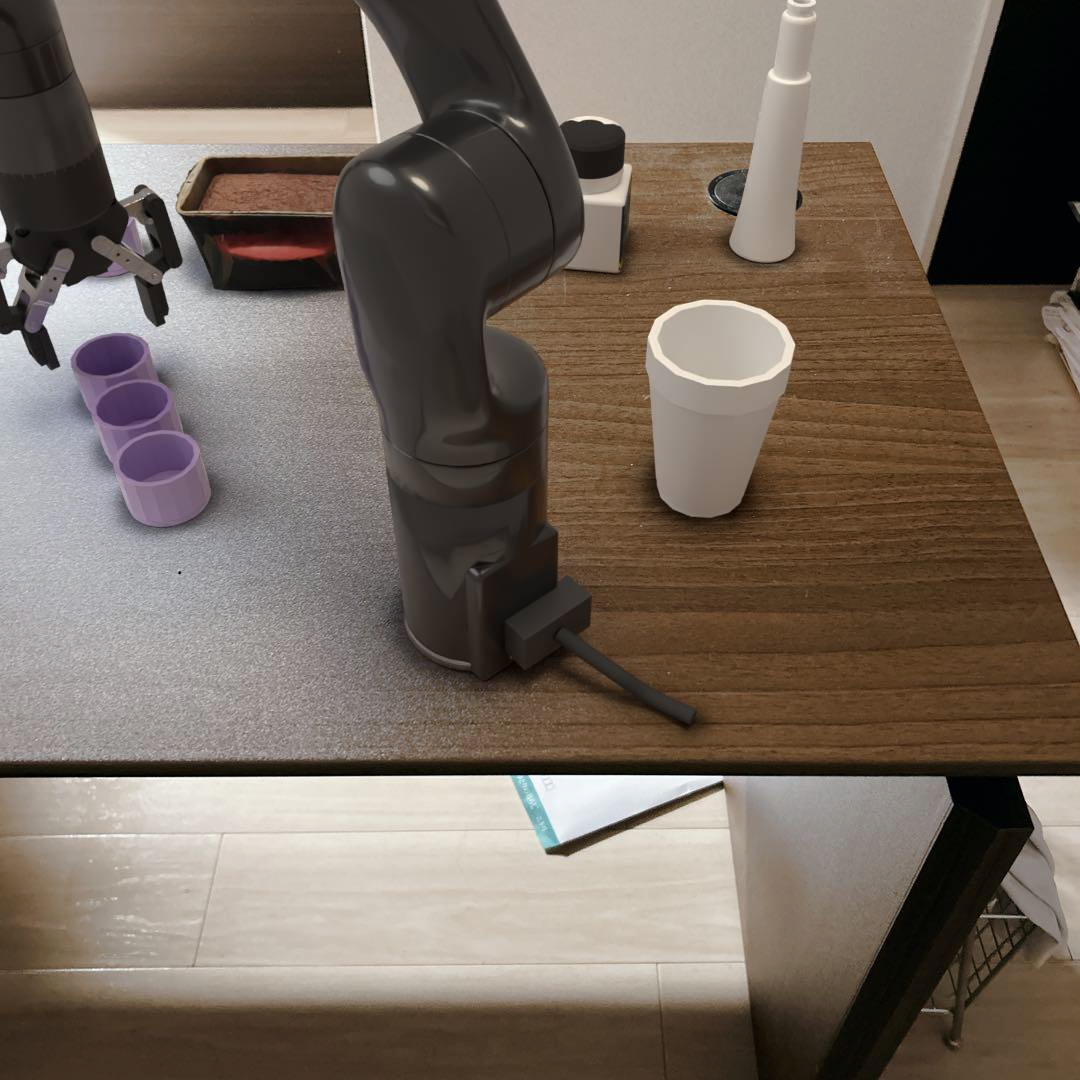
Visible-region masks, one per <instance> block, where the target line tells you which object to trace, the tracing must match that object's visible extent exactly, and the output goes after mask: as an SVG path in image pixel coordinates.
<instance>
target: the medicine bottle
mask: <svg viewBox="0 0 1080 1080" xmlns="http://www.w3.org/2000/svg"><path fill="white" fill-rule="evenodd" d="M559 127H560V129H561V131H562V133H563V136H564V138H565V140H566V143H567V145H568V148H569V150H570V153H571V155H572V158H573V161H574V164H575V167H576V170H577V173H578V177H579V181H580V185H581V189H582V193H583V199H584V210H585V229H584V233H583V238H582V242H581V246H580V248H579V250H578V252H577V254H576V256H575V257H574V258H573V260H572V261H571V262H570V263H569V264H568V265H567V266H566V267H565V268H564V269H563V270H565V269H566V270H575V271H576V270H577V271H585V272H599V273H610V274H619V273H620V272H621V271H622V266H623V261H624V255H625V250H626V245H627V239H628V235H629V226H630V211H631V198H632V196H631V195H632V183H633V182H632V180H633V166H632V164H631V163H625V155H626V154H625V151H626V132H625V130H624V128H623V127H622V126H621V125H620V124H619V123H617V122H616V121H614V120H612V119H610V118H606V117H602V116H597V115H583V116H577V117H572V118H570V119H567V120H565V121H563V122H562V123H561V124H559Z"/></svg>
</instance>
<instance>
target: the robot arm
mask: <svg viewBox="0 0 1080 1080" xmlns="http://www.w3.org/2000/svg"><path fill="white" fill-rule="evenodd" d="M353 2H354V3H355V4H356V5H357V6H358V7H359V8H360V10H361V11H362V12H363V14H364V15H365V16H366V18H367V19H368V20H369V21H370V23H371V24H372V25H373V28H375V30H376V31H377V33H378V35H379V36H380V38H381V40H382V42H383V43H384V44H385V46H386V48H387V50H388V51H389V53H390V55H391V57H392V59H393V60H394V62H395V64H396V66H397V69H398V70H399V72H400V74H401V76H402V79H403V80H404V83H405V85H406V87H407V89H408V91H409V93H410V96H411V98H412V99H413V102H414V104H415V107H416V109H417V111H418V114H419V117H420V120H421V123H419V124H416V125H414V126H412V127H410V128H409V129H406V130H405V131H402V132H400V133H398V134H396V135H393V136H391V137H389V138H387V139H385V140H383V141H382V142H379V143H377V144H375V145H373V146H371V147H368V148H367V149H366V150H364V151H362V152H360V153H358V154H359V155H357V156H356V157H354V158H353V159H351V160H350V161H349V162H348V163H347V164H346V166H345V167H344V168H343V169H342V171H341V173H340V175H339V177H338V180H337V183H336V187H335V191H334V198H333V229H334V239H335V245H336V250H337V256H338V261H339V266H340V271H341V275H342V280H343V284H342V285H343V288H344V293H345V297H346V303H347V307H348V312H349V317H350V322H351V327H352V333H353V338H354V342H355V347H356V353H357V358H358V360H359V364H360V367H361V370H362V374H363V375H364V378H365V381H366V383H367V385H368V387H369V389H370V392H371V394H372V396H373V399H374V400H375V401H374V402H375V403H376V407H377V411H378V419H379V423H380V431H381V439H382V447H383V455H384V464H385V473H386V479H387V487H388V497H389V503H390V511H391V512H390V513H391V518H392V526H393V527H392V528H393V534H394V541H395V550H396V559H397V564H398V565H397V566H398V574H399V581H400V587H401V595H402V602H403V606H402V608H403V610H402V612H403V613H402V614H403V622H404V628H405V632H406V634H407V636H408V638H409V640H410V642H411V643H412V645H413V646H414V647H415V648H416V649H417V651H419V652H420V654H422V655H423V656H424V657H426V658H427V659H429V660H430V661H432V662H434V663H436V664H438V665H440V666H442V667H446V668H449V669H453V670H459V671H466V672H470V673H471V672H472V673H473V674H474V675H476V677H478V678H479V680H481V681H487V680H488V679H490V678H492V677H493V676H494V675H496V674H497V673H499V672H501V671H502V670H504V669H505V668H507V667H508V666H509V665H511V664H513V663H514V662H515V663H516V664H518V666H520V667H521V669H523V670H524V671H527V670H528V669H530V668H531V667H532V666H534V665H535V664H537V663H539V662H540V661H541V660H543V659H544V658H546V657H548V656H549V655H550V654H551V653H552V654H553V652H555V651H556V650H557V649H559V648H561V647H563V648H564V649H566V650H568V651H569V652H571V653H572V654H574V655H575V656H576V657H578V658H579V659H581V660H582V662H585V663H586V664H587V665H589V666H591V667H592V668H593V669H595V670H596V671H597V672H599V673H600V674H601V675H603V676H605V677H606V678H608V679H609V680H611V681H612V682H613V683H615V684H616V685H618V686H619V687H620V688H622V689H623V690H625V691H626V692H627V693H629V694H630V695H632V696H634V698H637V699H638V700H640V701H641V702H643V703H645V704H647V705H649V706H650V707H651V708H654V709H655V710H658V711H660V712H661V713H664V714H665V715H667V716H670V717H672V718H674V719H676V720H679V721H681V722H682V723H685V724H686V725H688V726H691V725H692V724H693V722H694V721H695V719H696V716H697V713H698V710H697V709H696V708H694V707H692V706H690V705H688V704H685V703H683V702H682V701H680V700H677V699H675V698H672V697H671V696H668V695H666V694H665V693H663V692H661V691H659V690H657V689H655V688H654V687H652V686H650V685H648V684H647V683H646V682H644V681H642V680H641V679H639V678H638V677H637V676H635V675H634V674H632V673H631V672H629V670H626V669H625V668H624V667H622V666H621V665H620V664H618V663H617V662H615V661H614V660H613V659H611V658H610V657H608V656H607V655H605V654H603V653H602V652H601V651H599V650H598V649H596V648H595V647H594V646H592V645H591V644H590V643H588V642H587V641H585V640H584V639H582V638H581V637H580V636H578V635H580V634H582V633H583V632H584V631H585V630H587V629H589V628H590V627H591V616H592V601H593V597H592V596H593V595H592V594H590V592H588V591H587V590H586V589H585V588H584V587H583V586H581V584H579V583H578V582H577V581H576V580H574V579H573V578H572V577H571V576H570V575H569V574H567V575H564V576H563V577H562V578H560V579H558V578H559V531H558V529H557V528H555V527H554V526H553V525H552V524H551V523H549V522H548V508H549V507H548V505H549V504H548V502H549V501H548V499H549V498H548V497H549V495H548V494H549V493H548V492H549V491H548V490H549V486H548V485H549V414H550V413H549V411H550V385H549V383H550V382H549V376H548V375H549V374H548V370H547V368H546V365H545V362H544V360H543V359H542V357H541V356H540V355H539V353H538V352H537V351H536V349H535V348H534V347H533V346H531V344H530V343H528V342H526V341H525V340H524V339H522V338H521V337H519V336H517V335H515V334H514V333H511V332H509V331H506V330H504V329H501V328H499V327H495V326H490V325H486V324H487V320H489V319H490V318H492V317H494V316H495V315H496V314H498V313H500V312H502V311H504V309H506V308H507V307H509V306H511V305H512V304H514V303H515V302H517V301H518V300H520V299H521V298H523V297H525V296H526V295H528V294H529V293H531V292H532V291H534V290H535V289H537V288H539V287H540V286H541V285H543V284H544V283H546V282H547V281H549V280H550V279H552V278H554V277H555V276H556V275H557V274H559V273H560V272H561V271H563V270H565V269H564V268H565V267H566V266H567V265H568V264H569V263H570V262H571V261H572V260H573V258H574V257H575V256H576V254H577V252H578V250H579V248H580V246H581V242H582V238H583V233H584V229H585V210H584V199H583V193H582V189H581V185H580V181H579V177H578V173H577V170H576V167H575V164H574V161H573V158H572V155H571V153H570V150H569V148H568V145H567V143H566V140H565V138H564V136H563V133H562V131H561V129H560V127H559V126H560V124H559V122H558V120H557V118H556V116H555V114H554V111H553V109H552V107H551V105H550V103H549V101H548V99H547V97H546V95H545V94H544V91H543V89H542V87H541V85H540V83H539V81H538V79H537V76H536V75H535V73H534V71H533V68H532V67H531V65H530V62H529V60H528V59H527V56H526V54H525V53H524V50H523V48H522V47H521V44H520V42H519V40H518V38H517V36H516V34H515V32H514V30H513V28H512V26H511V24H510V22H509V20H508V17H507V16H506V14H505V12H504V10H503V8H502V6H501V4H500V1H499V0H353ZM61 20H62V19H61V17H60V13H59V9H58V7H57V3H56V0H0V214H1V216H2V220H3V222H4V224H5V231H6V232H5V236H4V237H5V238H4V241H3V242H0V335H3V336H6V335H10V334H12V332H14V331H16V332H17V331H19V332H20V334H21V337H22V339H23V341H24V344H25V347H26V349H27V352H28V354H29V355H30V356H31V357H32V358H33V360H34V361H35V362H36V363H37V364H38V365H39V366H40V367H44V366H46V367H47V368H48V369H49V370H50V371H54V370H56V369H59V368H61V363H60V361H59V357H58V355H57V353H56V350H55V347H54V345H53V342H52V339H51V337H50V334H49V331H48V329H47V327H46V326H45V325H44V321H45V319H46V316H47V314H48V311H49V308H50V307H53V306H54V305H55V303H56V301H57V298H58V295H59V293H60V290H61V287H62V285H65V286H66V287H67V288H70V287H73V286H75V285H78V284H79V283H80V282H82V281H84V280H86V279H87V278H88V277H89V278H90V277H99V276H98V275H101V274H104V273H106V272H108V268H109V267H110V266H111V265H112V263H113V262H115V263H117V264H118V265H120V266H121V267H123V268H125V269H126V270H128V271H129V272H130V273H131V274H133V279H134V283H135V286H136V290H137V294H138V296H139V300H140V303H141V306H142V310H143V312H144V316H145V317H146V318H147V320H148V321H149V322H150V323H151V324H152V325H153V326H155V328H158V327H162V326H163V325H165V324H166V319H165V317H166V316H169V312H170V307H169V303H168V299H167V296H166V291H165V288H164V284H163V278H164V275H165V274H166V273H167V272H168V271H170V270H172V269H173V270H175V269H179V268H180V267H181V266H182V265H183V261H184V258H183V256H182V252H181V250H180V246H179V243H178V240H177V237H176V234H175V232H174V227H173V226H172V225H173V223H172V221H171V219H170V215H169V213H168V209H167V206H166V203H165V201H164V199H163V198H162V197H160V196H159V195H158V194H157V193H156V192H155V191H153V189H151V188H150V187H148V186H147V185H146V184H138V185H136V186H135V188H134V189H133V194H132V195H130V196H128V197H125V198H123V199H120V200H118V198H117V196H116V192H115V189H114V188H115V187H114V185H113V181H112V178H111V175H110V171H109V167H108V164H107V160H106V158H105V153H104V150H103V146H102V143H101V140H100V136H99V133H98V129H97V126H96V122H95V119H94V115H93V111H92V108H91V105H90V102H89V99H88V96H87V94H86V92H85V88H84V87H83V84H82V82H81V81H80V80H81V79H80V77H79V76H78V73H77V70H76V68H75V65H74V62H73V59H72V55H71V52H70V48H69V44H68V41H67V38H66V33H65V31H64V28H63V24H62V21H61ZM129 217H134V218H135V220H136V222H138V223H139V224H140V225H142V226H144V229H145V232H146V234H147V238H148V241H149V243H150V246H151V249H152V250H150V251H149V252H147V254H145V256H143V255H142V254H140V253H138V252H137V251H135V250H134V249H132V248H131V247H129V246H128V245H126V244H125V243H124V242H122V239H123V236H124V233H125V231H126V228H127V225H128V221H129ZM12 260H15V261H16V262H17V263H18V264H20V265H22V267H21V269H20V270H21V271H20V273H19V275H18V279H17V284H18V290H17V292H16V294H15V297H14V300H13V302H12V305H9V303H8V299H7V296H6V293H5V291H4V288H3V284H2V281H1V280H5V279H6V277H7V275H8V265H9V263H10V262H11V261H12Z"/></svg>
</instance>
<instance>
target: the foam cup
mask: <svg viewBox="0 0 1080 1080" xmlns="http://www.w3.org/2000/svg"><path fill="white" fill-rule="evenodd" d="M795 349H796V343H795V340H794V339H793V337H792V335H791V333H790V331H789V329H788V327H787V325H786V324H784V323H783V322H782V321H780V320H779V319H777V318H776V317H774V316H773V315H772V314H770V313H769V312H767V311H766V310H765V309H762V308H759V307H756V306H752V305H749V304H745V303H742V302H739V301H736V300H723V299H722V300H721V299H699V300H694V301H691V302H687V303H686V302H685V303H681V304H677V305H674V306H673V307H671V308H670V309H668V310H667V311H666V312H664V313H663V314H661V315H659V316H658V317H656V318H655V319H654V321H653V324H652V326H651V329H650V332H649V333H648V336H647V342H646V353H645V364H644V365H645V366H644V367H645V370H646V373H647V376H648V383H649V397H650V398H649V399H650V412H651V424H652V425H651V427H652V442H653V453H654V455H653V456H654V469H655V479H656V487H657V490H658V494H659V496H660V499H661V500H662V501H663V502H665V504H667V506H668V507H670V508H671V509H672V510H674V511H676V512H679V513H681V514H684V515H686V516H689V517H692V518H693V517H694V518H695V517H696V518H707V519H709V518H714V517H718V516H722V515H725V514H729V513H730V512H731V511H732V510H734V509H735V508H736V507H737V506H739V505H740V504H741V503H742V499H743V497H744V495H745V492H746V491H747V487H748V484H749V481H750V479H751V476H752V474H753V471H754V468H755V465H756V462H757V460H758V458H759V454H760V452H761V449H762V447H763V444H764V441H765V438H766V436H767V433H768V430H769V427H770V424H771V422H772V419H773V417H774V414H775V411H776V408H777V405H778V403H779V401H780V397H781V396H783V395H784V394H785V393H786V389H787V385H788V381H789V377H790V373H791V369H792V363H793V358H794V353H795Z"/></svg>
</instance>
